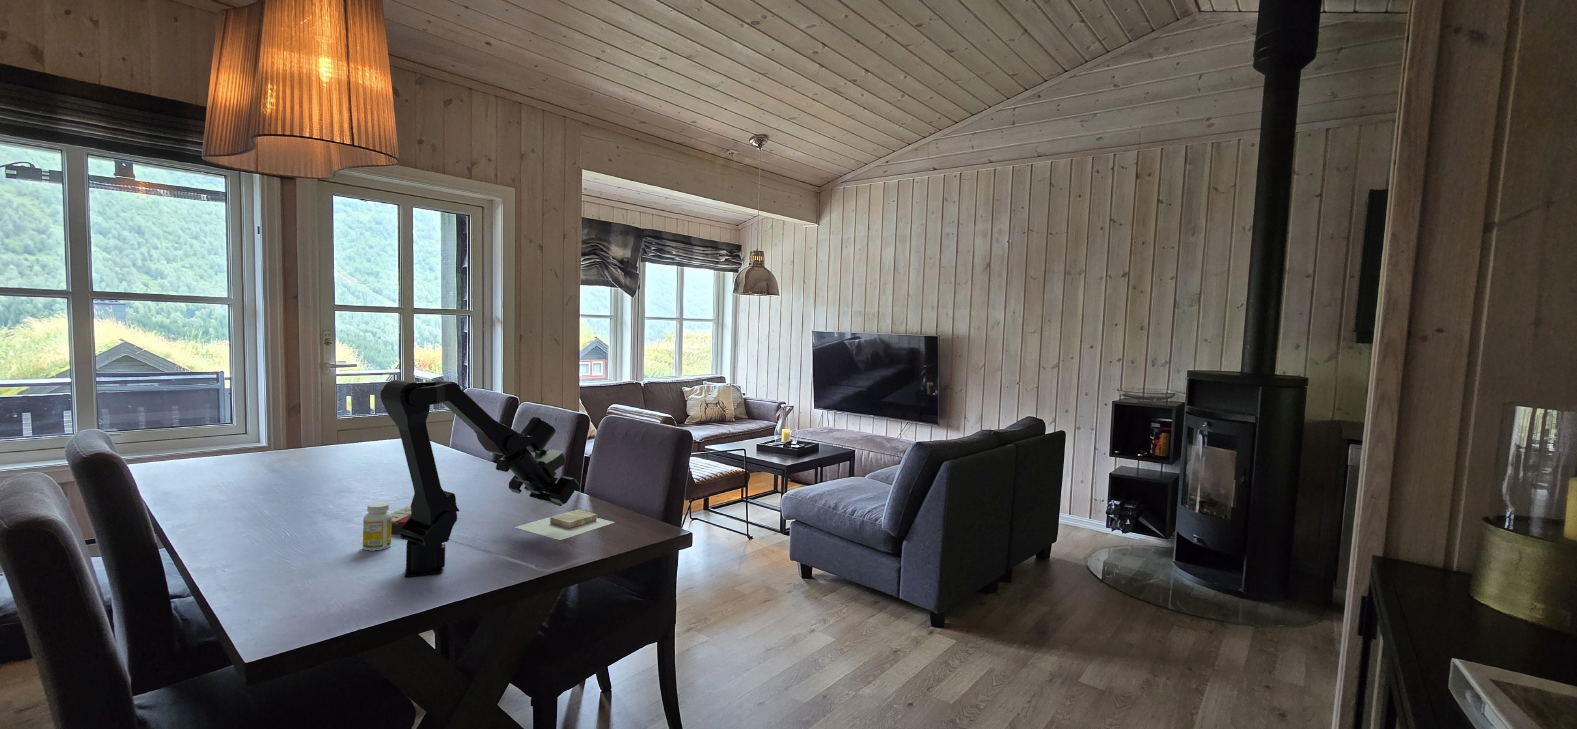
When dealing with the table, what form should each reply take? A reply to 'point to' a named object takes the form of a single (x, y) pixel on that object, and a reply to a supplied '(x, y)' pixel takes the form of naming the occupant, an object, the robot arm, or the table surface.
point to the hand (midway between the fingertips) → (561, 504)
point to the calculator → (400, 519)
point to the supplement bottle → (377, 527)
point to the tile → (573, 519)
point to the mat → (561, 528)
